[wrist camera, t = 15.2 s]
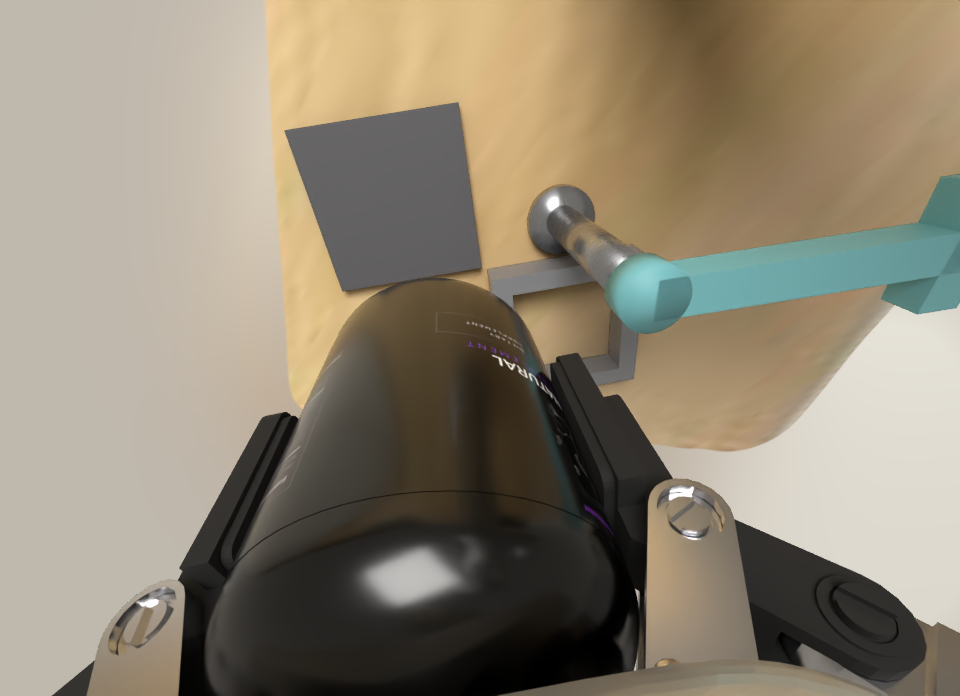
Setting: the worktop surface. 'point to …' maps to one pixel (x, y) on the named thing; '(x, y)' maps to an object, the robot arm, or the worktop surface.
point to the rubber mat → (390, 195)
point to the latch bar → (801, 270)
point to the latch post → (575, 231)
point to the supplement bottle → (426, 522)
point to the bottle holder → (560, 275)
